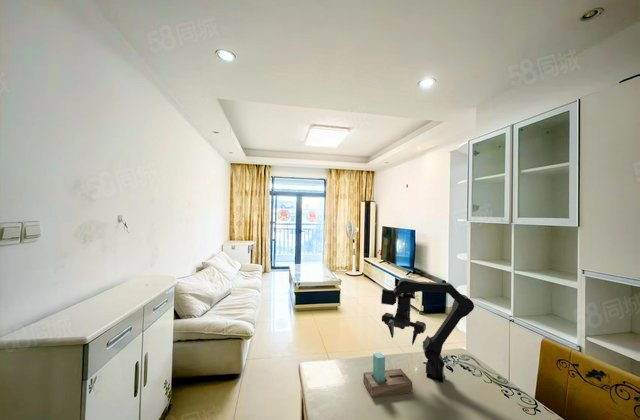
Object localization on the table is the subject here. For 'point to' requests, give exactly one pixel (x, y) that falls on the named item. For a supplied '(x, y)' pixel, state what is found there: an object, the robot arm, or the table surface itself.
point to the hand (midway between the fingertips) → (402, 341)
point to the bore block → (388, 383)
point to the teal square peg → (378, 367)
